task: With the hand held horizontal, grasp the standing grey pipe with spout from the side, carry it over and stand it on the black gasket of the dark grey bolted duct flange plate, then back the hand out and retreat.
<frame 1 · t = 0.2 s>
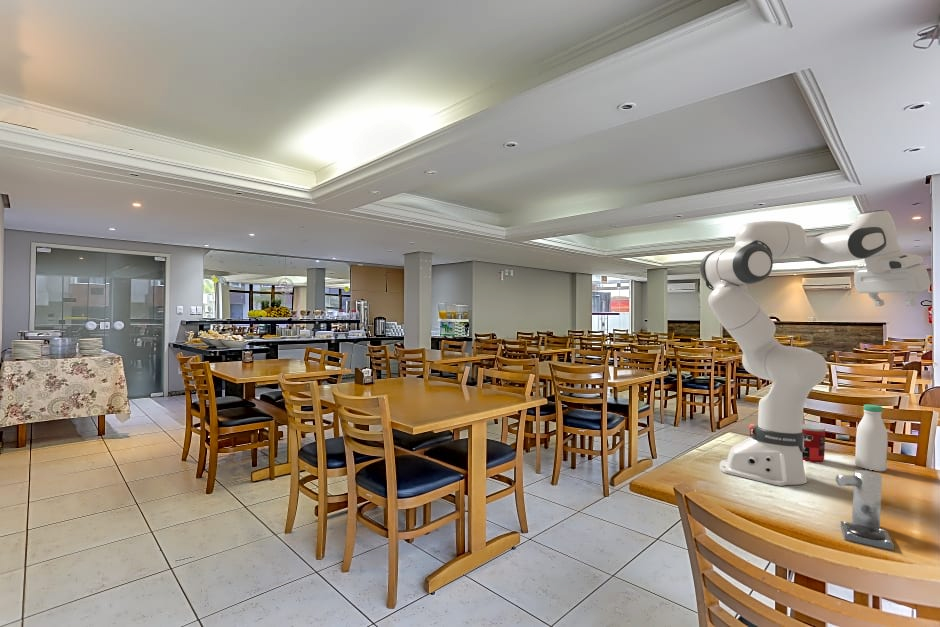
hand: (895, 305, 147), 52 cm above the table, tool tilted 20°, fingers open, 8 cm apart
canned food: (809, 459, 161), on the table
duct flange: (865, 537, 105), on the table
milk bottle: (870, 468, 153), on the table
grey pipe with spout: (865, 525, 111), on the table
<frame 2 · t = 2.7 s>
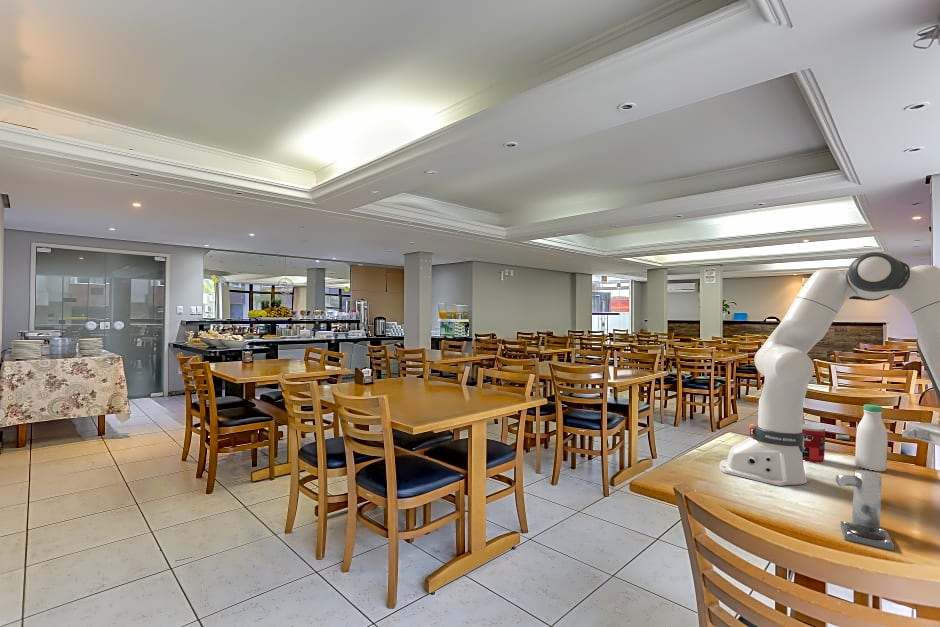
hand: (922, 439, 111), 20 cm above the table, tool horizontal, fingers open, 8 cm apart
nothing on the table moved.
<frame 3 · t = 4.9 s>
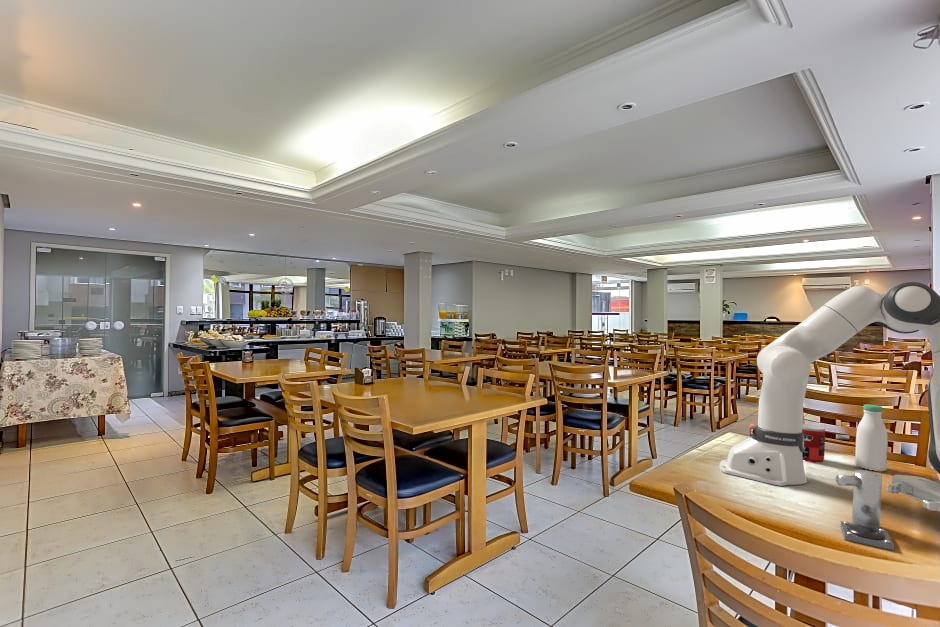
hand: (906, 496, 111), 7 cm above the table, tool horizontal, fingers open, 8 cm apart
nothing on the table moved.
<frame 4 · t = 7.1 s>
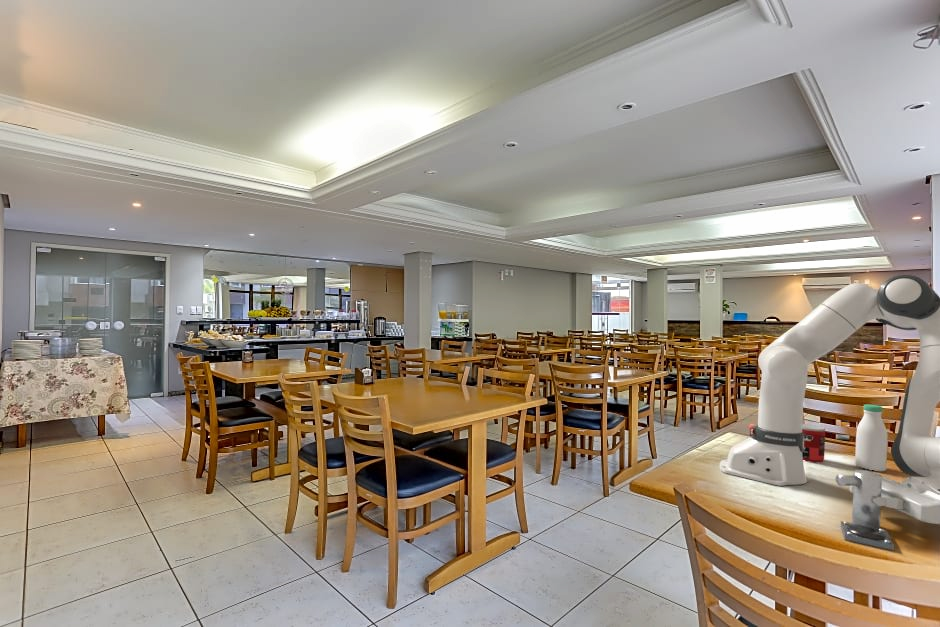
hand: (863, 495, 111), 7 cm above the table, tool horizontal, fingers closed on grey pipe with spout, 5 cm apart
grey pipe with spout: (865, 525, 111), on the table, touching gripper
everything else where it was.
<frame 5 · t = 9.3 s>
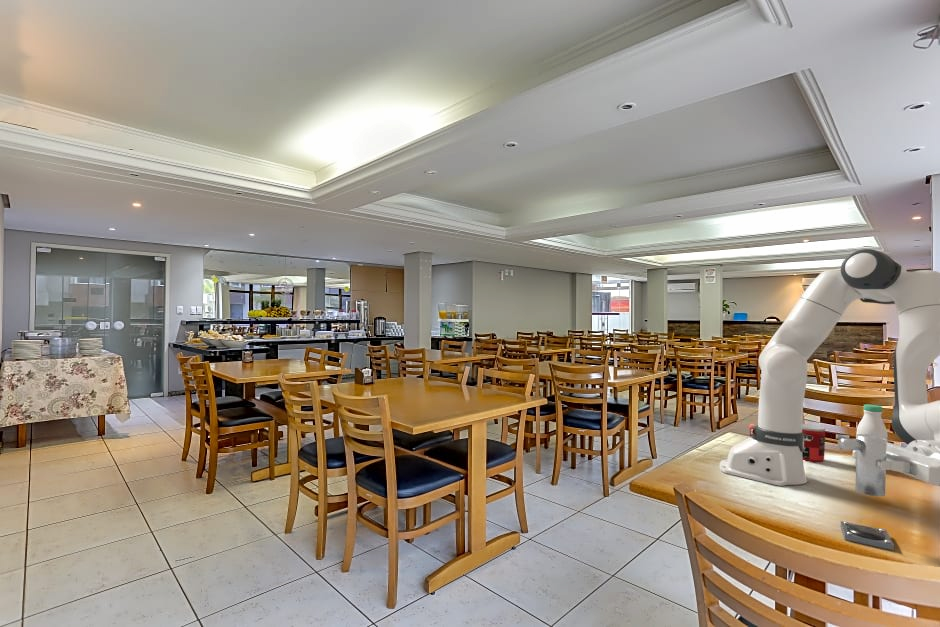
hand: (866, 459, 105), 17 cm above the table, tool horizontal, fingers closed on grey pipe with spout, 5 cm apart
grey pipe with spout: (870, 491, 105), point 10 cm above the table, touching gripper
everything else where it was.
when the fingers open (10 cm above the table, at t = 11.2 s): grey pipe with spout drops 1 cm, resting on duct flange.
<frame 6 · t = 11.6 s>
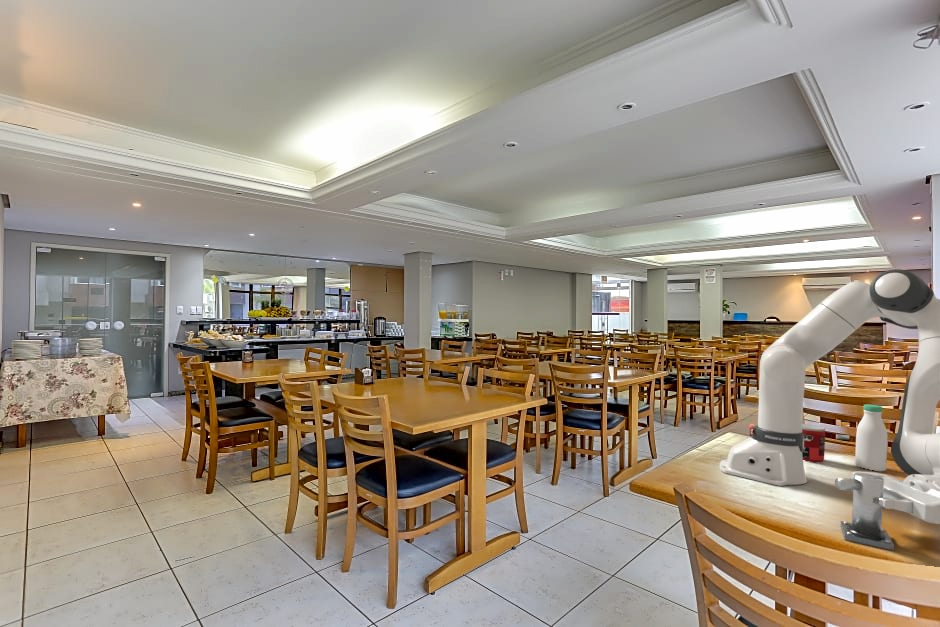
hand: (863, 494, 104), 10 cm above the table, tool horizontal, fingers open, 8 cm apart
grey pipe with spout: (866, 531, 105), point 1 cm above the table, touching duct flange
everything else where it was.
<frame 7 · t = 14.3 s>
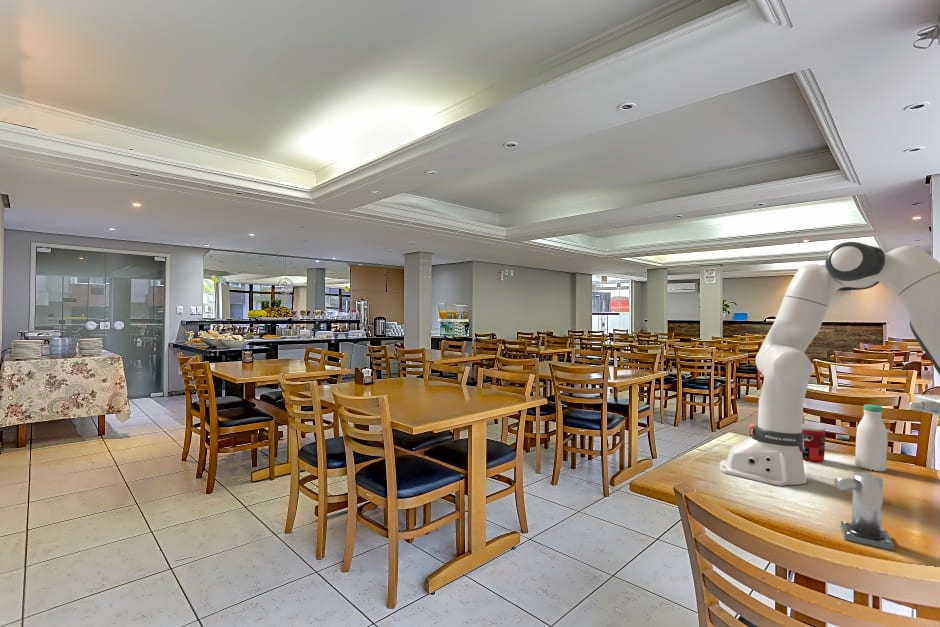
hand: (931, 411, 104), 28 cm above the table, tool horizontal, fingers open, 8 cm apart
nothing on the table moved.
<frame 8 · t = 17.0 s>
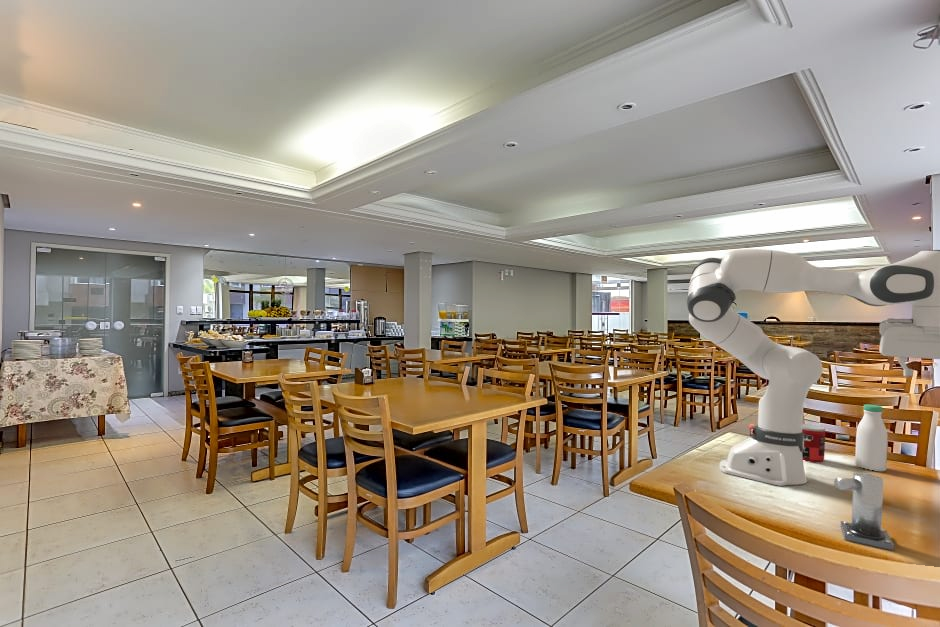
hand: (934, 378, 113), 34 cm above the table, tool pointing down, fingers open, 8 cm apart
nothing on the table moved.
at the end: grey pipe with spout 0.0 cm off-centre on the duct flange, point 1.4 cm above the duct flange's base; grey pipe with spout tilted 0°; grey pipe with spout touching duct flange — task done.
